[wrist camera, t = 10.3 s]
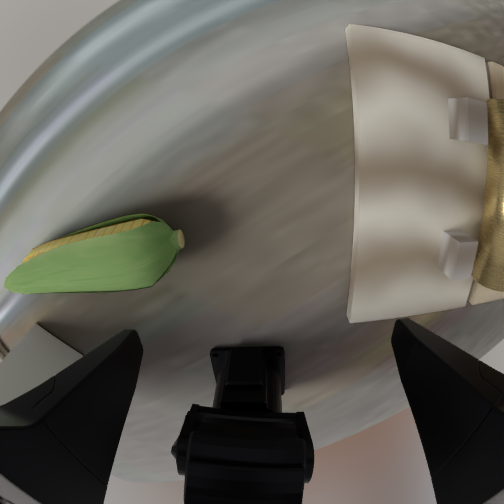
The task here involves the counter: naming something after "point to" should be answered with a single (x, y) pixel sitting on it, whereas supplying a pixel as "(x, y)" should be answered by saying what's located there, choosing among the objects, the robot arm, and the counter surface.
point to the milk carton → (33, 362)
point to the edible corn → (101, 258)
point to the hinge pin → (492, 205)
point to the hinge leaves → (417, 173)
